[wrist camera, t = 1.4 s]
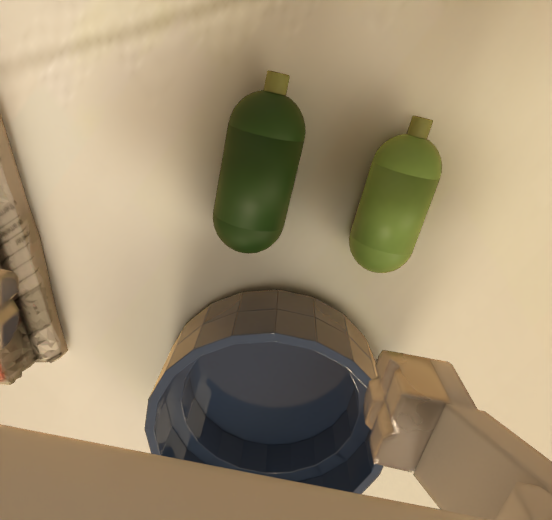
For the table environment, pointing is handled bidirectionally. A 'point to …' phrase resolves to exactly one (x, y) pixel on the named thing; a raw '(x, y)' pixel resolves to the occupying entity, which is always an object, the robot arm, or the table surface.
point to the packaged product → (25, 277)
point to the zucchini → (259, 167)
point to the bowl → (268, 392)
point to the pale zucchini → (396, 199)
